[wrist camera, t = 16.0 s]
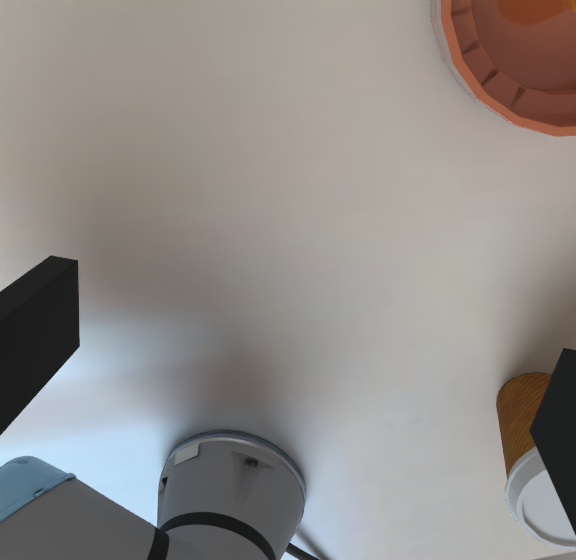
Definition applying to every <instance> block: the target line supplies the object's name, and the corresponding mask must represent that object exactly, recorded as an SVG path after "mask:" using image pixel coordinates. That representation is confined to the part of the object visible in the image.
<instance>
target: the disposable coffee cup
mask: <svg viewBox="0 0 576 560" xmlns="http://www.w3.org/2000/svg"><path fill="white" fill-rule="evenodd" d="M551 377H552V375H549V374H544V373H528V374H524V375H520V376H518V377H516V378H514V379H512V380H511V381H509V382H508V383H507V384H506V385H505V386H504V387H503V388H502V389H501V391H500V392H499V394H498V397H497V403H496V406H497V412H498V419H499V425H500V432H501V439H502V446H503V453H504V459H505V467H506V473H507V483H506V486H505V501H506V505H507V507H508V510H509V512H510V514H511V515H512V517H513V518H514V519H515V520H516V521H517V522H518V523H519V524H520V525H521V526H522V527H523V529H524V530H525V531H526V532H527V533H528V534H529V535H530V536H531V537H532V538H534V539H536V540H537V541H539V542H541V543H543V544H545V545H548V546H550V547H555V548H560V549H565V550H576V535H575V533H574V531H573V529H572V526H571V524H570V522H569V520H568V517H567V515H566V513H565V511H564V508H563V506H562V504H561V502H560V499H559V497H558V495H557V493H556V490H555V488H554V486H553V483H552V481H551V479H550V477H549V474H548V472H547V470H546V468H545V465H544V463H543V461H542V459H541V456H540V454H539V452H538V450H537V447H536V445H535V443H534V441H533V438H532V436H531V434H530V432H529V429H530V427H531V424H532V422H533V420H534V417H535V415H536V412H537V410H538V408H539V405H540V403H541V400H542V398H543V396H544V393H545V391H546V389H547V386H548V384H549V381H550V379H551Z"/></svg>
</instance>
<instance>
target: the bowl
mask: <svg viewBox="0 0 576 560" xmlns="http://www.w3.org/2000/svg"><path fill="white" fill-rule="evenodd" d="M431 21H432V25H433V29H434V32H435V36H436V39H437V43H438V46H439V50H440V53H441V57H442V59H443V62H444V63H445V64H446V66H447V67H448V69H449V70H450V72H451V73H452V74H453V76H454V77H455V79H456V80H457V82H458V83H459V84H460V86H461V87H462V89H463V90H464V91H465V92H466V93H467V94H468V95H470V96H471V97H473V98H474V99H476V100H477V101H478V102H480V103H481V104H483V105H484V106H486V107H487V108H488V109H490V110H491V111H493V112H494V113H496V114H497V115H499V116H500V117H502V118H503V119H505V120H506V121H508V122H510V123H511V124H513V125H515V126H518V127H522V128H526V129H530V130H533V131H537V132H541V133H545V134H548V135H552V136H557V137H558V136H576V12H574V11H572V10H570V9H568V8H566V7H565V6H564V5H562V2H561V0H431Z"/></svg>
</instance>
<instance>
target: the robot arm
mask: <svg viewBox="0 0 576 560" xmlns="http://www.w3.org/2000/svg"><path fill="white" fill-rule="evenodd" d="M79 347H80V339H79V287H78V260H73V259H68V258H62V257H56V256H49V257H48V258H47V259H45V260H44V261H42V262H41V263H40V264H38V265H37V266H35V267H34V268H33V269H31V270H30V271H28V272H27V273H26V274H24V275H23V276H21V277H20V278H19V279H17V280H16V281H14V282H13V283H12V284H10V285H9V286H7V287H6V288H5V289H3V290H2V291H1V292H0V435H1V434H2V433H3V432H4V431H5V430H6V428H7V427H8V426H9V425H10V424H11V423H12V422H13V421H14V419H15V418H16V417H17V416H18V415H19V414H20V413H21V412H22V411H23V409H24V408H25V407H26V406H27V405H28V404H29V403H30V402H31V400H32V399H33V398H34V397H35V396H36V395H37V394H38V393H39V391H40V390H41V389H42V388H43V387H44V386H45V385H46V384H47V382H48V381H49V380H50V379H51V378H52V377H53V376H54V375H55V373H56V372H57V371H58V370H59V369H60V368H61V367H62V366H63V364H64V363H65V362H66V361H67V360H68V359H69V358H70V357H71V356H72V354H73V353H74V352H75V351H76V350H77V349H78V348H79ZM529 432H530V434H531V436H532V438H533V441H534V443H535V445H536V447H537V450H538V452H539V454H540V456H541V459H542V461H543V463H544V465H545V468H546V470H547V472H548V474H549V477H550V479H551V481H552V483H553V486H554V488H555V490H556V493H557V495H558V497H559V499H560V502H561V504H562V506H563V508H564V511H565V513H566V515H567V517H568V520H569V522H570V524H571V526H572V529H573V531H574V533H575V535H576V350H572V349H567V348H563V350H562V353H561V355H560V357H559V360H558V362H557V365H556V367H555V369H554V372H553V374H552V377H551V379H550V381H549V384H548V386H547V389H546V391H545V393H544V396H543V398H542V400H541V403H540V405H539V408H538V410H537V412H536V415H535V417H534V420H533V422H532V424H531V427H530V429H529ZM305 497H306V491H305V484H304V481H303V478H302V476H301V474H300V472H299V470H298V468H297V467H296V465H295V464H294V463H293V462H292V460H291V459H290V458H289V457H288V456H287V455H286V454H285V453H283V452H282V451H281V450H280V449H278V448H277V447H275V446H274V445H272V444H270V443H269V442H267V441H265V440H263V439H260V438H258V437H255V436H252V435H249V434H245V433H240V432H234V431H212V432H206V433H202V434H199V435H196V436H193V437H191V438H189V439H187V440H185V441H184V442H182V443H181V444H180V445H178V446H177V447H176V448H175V449H174V450H173V452H172V453H171V454H170V456H169V458H168V460H167V462H166V464H165V466H164V468H163V471H162V473H161V477H160V482H159V488H158V512H157V527H155V526H153V525H152V524H151V523H149V522H147V521H146V520H144V519H142V518H141V517H139V516H137V515H135V514H134V513H132V512H130V511H129V510H127V509H125V508H124V507H122V506H120V505H119V504H117V503H115V502H114V501H112V500H110V499H109V498H107V497H105V496H104V495H102V494H101V493H99V492H97V491H96V490H94V489H93V488H91V487H89V486H88V485H86V484H85V483H83V482H81V481H80V480H78V479H77V478H76V475H74V474H73V473H66V472H64V471H62V470H60V469H58V468H56V467H54V466H52V465H50V464H48V463H46V462H44V461H42V460H41V459H39V458H36V457H32V456H22V457H18V458H15V459H13V460H10V461H9V462H7V463H5V464H4V465H3V466H1V467H0V560H280V559H281V558H282V556H283V554H284V552H285V551H286V552H287V553H289V554H291V555H292V556H294V557H296V558H298V559H299V560H319V559H317V558H315V557H314V556H312V555H310V554H308V553H306V552H304V551H303V550H301V549H299V548H298V547H296V546H294V545H293V544H291V543H289V542H290V540H291V538H292V537H293V535H294V534H295V532H296V531H297V529H298V527H299V525H300V522H301V519H302V517H303V513H304V506H305Z"/></svg>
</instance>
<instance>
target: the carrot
mask: <svg viewBox="0 0 576 560" xmlns="http://www.w3.org/2000/svg"><path fill="white" fill-rule="evenodd" d="M561 2H562V5H564V6H565V7H566V8H568V9H570V10H572V11H574V12H576V0H561Z"/></svg>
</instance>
